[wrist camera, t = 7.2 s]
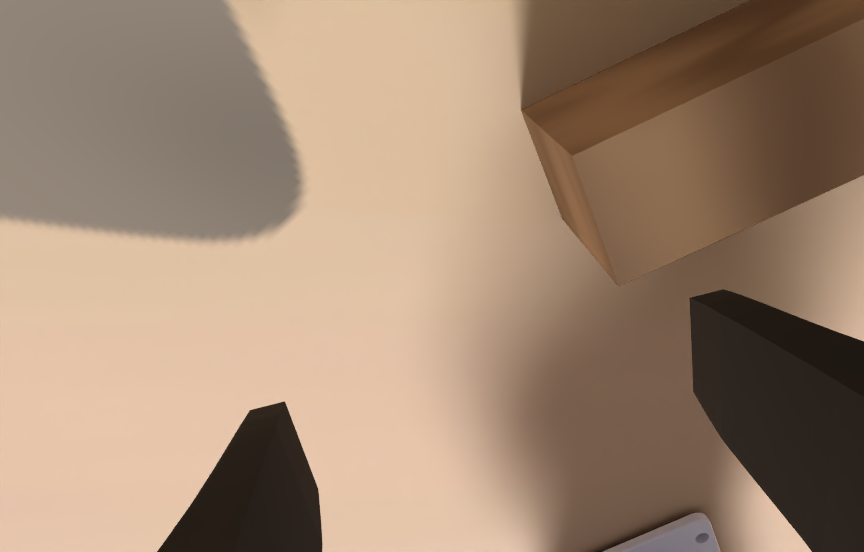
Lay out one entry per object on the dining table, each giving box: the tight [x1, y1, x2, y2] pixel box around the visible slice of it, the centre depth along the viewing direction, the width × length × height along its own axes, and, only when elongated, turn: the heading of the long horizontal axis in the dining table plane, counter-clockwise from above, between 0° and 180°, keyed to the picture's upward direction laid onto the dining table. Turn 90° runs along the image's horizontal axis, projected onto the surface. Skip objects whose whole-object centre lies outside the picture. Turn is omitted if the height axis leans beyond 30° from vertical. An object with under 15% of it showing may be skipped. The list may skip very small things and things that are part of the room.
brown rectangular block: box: [521, 0, 864, 286], centre depth 17 cm, size 10×4×4 cm, turn 114°
